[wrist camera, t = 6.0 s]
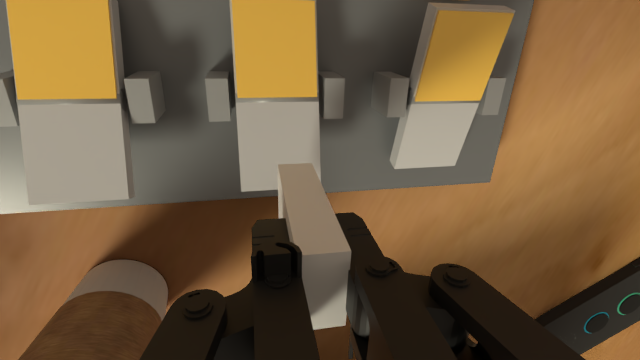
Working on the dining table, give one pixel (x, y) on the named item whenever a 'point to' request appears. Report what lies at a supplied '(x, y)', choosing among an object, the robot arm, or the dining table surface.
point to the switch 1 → (71, 100)
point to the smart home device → (597, 310)
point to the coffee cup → (105, 315)
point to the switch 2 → (275, 87)
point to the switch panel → (220, 104)
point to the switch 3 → (448, 81)
